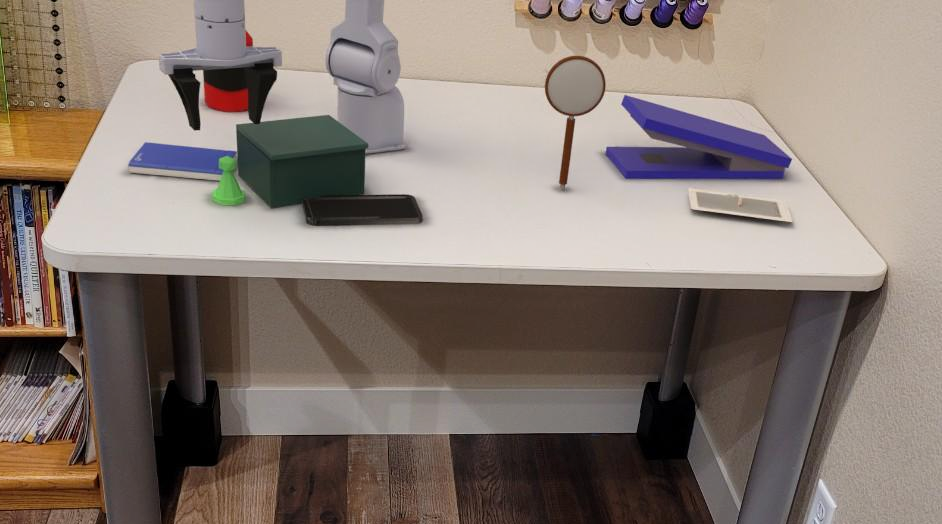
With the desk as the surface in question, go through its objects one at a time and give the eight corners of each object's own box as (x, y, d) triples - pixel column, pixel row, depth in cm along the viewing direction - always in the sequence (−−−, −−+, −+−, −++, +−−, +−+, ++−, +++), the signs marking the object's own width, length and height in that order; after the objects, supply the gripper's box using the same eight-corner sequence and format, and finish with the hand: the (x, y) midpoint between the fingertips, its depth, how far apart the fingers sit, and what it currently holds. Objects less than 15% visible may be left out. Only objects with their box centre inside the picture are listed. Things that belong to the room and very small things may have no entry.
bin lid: (368, 148, 140) (368, 143, 140) (272, 160, 132) (272, 155, 132) (329, 119, 148) (329, 114, 148) (236, 129, 140) (235, 124, 140)
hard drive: (127, 162, 139) (223, 171, 141) (145, 140, 146) (236, 149, 148) (128, 173, 140) (224, 182, 142) (146, 151, 147) (237, 160, 148)
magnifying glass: (589, 188, 156) (608, 56, 146) (591, 193, 155) (610, 60, 144) (532, 185, 154) (547, 51, 144) (534, 190, 153) (549, 55, 143)
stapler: (604, 152, 170) (612, 94, 165) (757, 153, 179) (770, 98, 174) (627, 181, 161) (637, 119, 156) (788, 180, 170) (802, 122, 165)
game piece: (206, 194, 138) (204, 151, 135) (239, 190, 140) (237, 148, 137) (218, 207, 135) (215, 164, 132) (250, 203, 137) (249, 160, 134)
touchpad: (790, 228, 153) (794, 215, 152) (689, 215, 152) (692, 202, 151) (783, 207, 160) (786, 194, 158) (686, 194, 159) (689, 181, 158)
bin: (364, 194, 144) (365, 148, 141) (271, 208, 136) (269, 160, 133) (328, 163, 151) (329, 119, 148) (238, 175, 144) (236, 129, 140)
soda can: (217, 93, 170) (213, 19, 164) (262, 101, 170) (260, 27, 164) (196, 107, 164) (191, 30, 158) (243, 115, 163) (240, 38, 157)
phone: (301, 195, 139) (413, 193, 144) (301, 203, 140) (413, 201, 145) (307, 221, 133) (424, 218, 138) (307, 229, 134) (423, 226, 139)
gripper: (265, 5, 132) (268, 108, 139) (146, 9, 124) (156, 119, 131) (288, 20, 127) (289, 126, 134) (166, 26, 119) (175, 139, 126)
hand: (225, 124), depth 132 cm, fingers open, 7 cm apart
